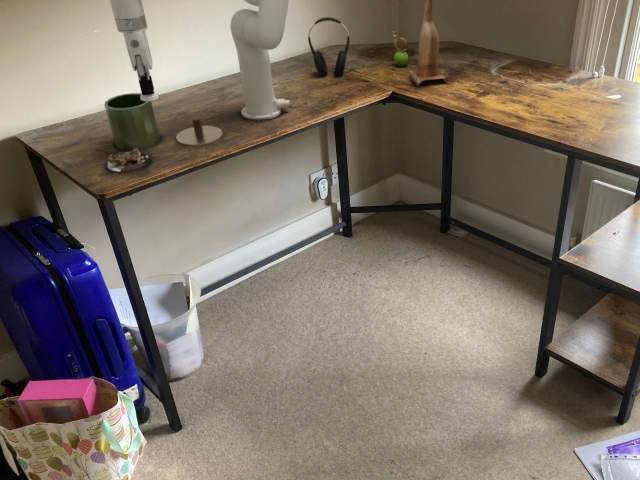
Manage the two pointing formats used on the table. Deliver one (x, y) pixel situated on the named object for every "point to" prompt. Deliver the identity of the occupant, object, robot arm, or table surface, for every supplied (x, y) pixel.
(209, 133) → the lid
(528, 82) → the table surface
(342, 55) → the headphones
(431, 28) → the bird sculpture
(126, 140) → the pot
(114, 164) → the frog figurine
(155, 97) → the chess piece
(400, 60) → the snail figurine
